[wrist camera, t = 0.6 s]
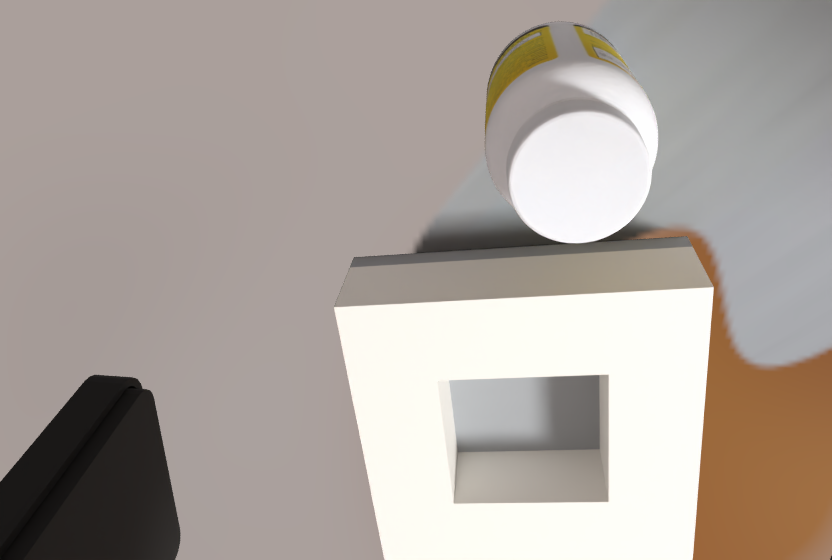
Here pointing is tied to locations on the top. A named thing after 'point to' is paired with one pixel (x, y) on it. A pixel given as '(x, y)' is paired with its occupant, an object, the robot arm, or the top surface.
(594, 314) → the sleeve holder
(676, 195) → the top surface
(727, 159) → the top surface
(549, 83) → the supplement bottle
